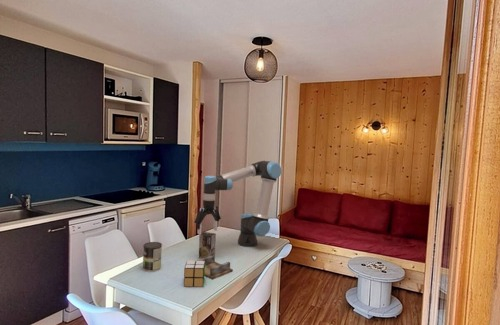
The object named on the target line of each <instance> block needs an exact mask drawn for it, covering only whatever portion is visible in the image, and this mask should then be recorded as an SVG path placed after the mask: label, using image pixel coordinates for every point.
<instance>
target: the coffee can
mask: <svg viewBox="0 0 500 325" xmlns="http://www.w3.org/2000/svg"><path fill="white" fill-rule="evenodd" d="M162 246H163V243H162V242H159V241H148V242H146V243H144V244H143V245H142V247H143V250H142V251H143V254H142V255H143V256H142V258H143V259H142V270H143V271H144V272H148V273H151V272H152V273H153V272H154V273H155V272H157V271H160V270H161V269H162Z"/></svg>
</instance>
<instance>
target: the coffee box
mask: <svg viewBox="0 0 500 325" xmlns="http://www.w3.org/2000/svg"><path fill="white" fill-rule="evenodd" d="M198 236H199V237H198V238H199V242H198V260H200V259H203V258H207V257H210V256H213V255H214V256H215V257H216V240H217V239H216V236H217V234H216V233H215V232H207V231H203V232H201V235H200V234H198Z"/></svg>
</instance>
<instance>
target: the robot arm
mask: <svg viewBox="0 0 500 325" xmlns="http://www.w3.org/2000/svg"><path fill="white" fill-rule="evenodd" d="M281 175H282V167H281V164H279V163H278V162H276V161H271V160H260V161H257V162H254V163H251V164H249V165H248V166H245V167H243V168H242V167H241V168H239V169H236V170H233V171H229V172H226V173H224V174H219V175H205V176H204V180H203V196H202V197H203V200H202V207H199V209H198V213H197V215H196V218H195V219H194V223H195V224H196V229H197V234H198V235H199V234H200V235H201V233H202V222H203V220H204V219H205V217H207V215H211V216H212V218H213V231H215V232H217V231H218V225H219V222H220V220H221V219H222V217H221V215H220V212H219V207H218V206H217V205H215V204H216V201H215V199H216V191H226V192H227V191H231V190H232V189H233V186H234V183H235V182H239V180H244V179H246V178H250V177H257V176H258V177H260V180H261V185H260V191H259V194H258V198H257V203H256V208H255V212H254V213H252V212H251V213H250V212H248V213H242V214H241V217H240V232H239V236H238V239H237V244H238V245H239V246H242V247H256V246H257V245H258V239H257V236H258V237H264V236H266V235H267V234H269V232H270V229H271V224H270V223H269V217H268V212H269V208H270V203H271V198H272V193H273V188H274V184H275V183H276V182H277V180H278V179H279V178H280V177H281Z"/></svg>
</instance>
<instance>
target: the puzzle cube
mask: <svg viewBox="0 0 500 325" xmlns="http://www.w3.org/2000/svg"><path fill="white" fill-rule="evenodd" d="M183 277H184V278H183V287H184V288H185V287H186V288H190V287H196V288H197V287H199V288H203V286H204V284H205V277H206V276H205V261H197V260H187V261H186V262H185V266H184V271H183Z"/></svg>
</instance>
